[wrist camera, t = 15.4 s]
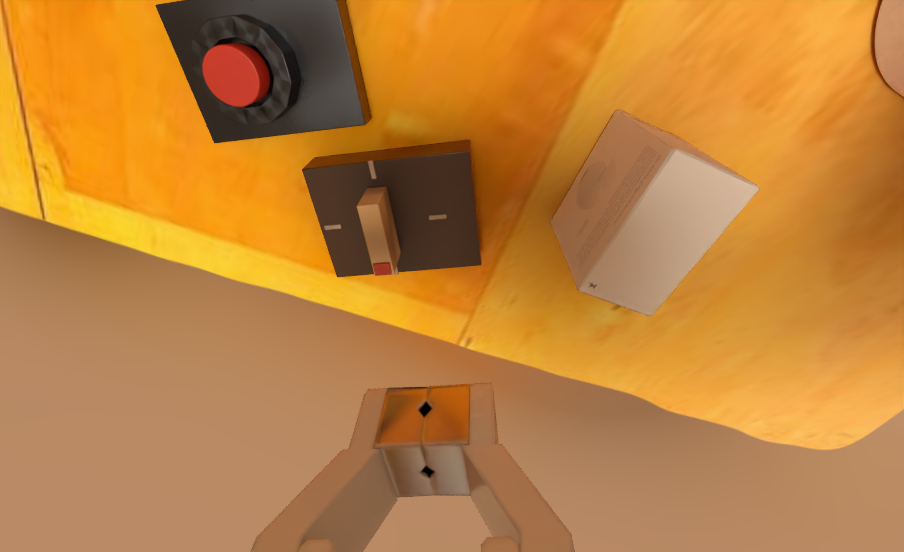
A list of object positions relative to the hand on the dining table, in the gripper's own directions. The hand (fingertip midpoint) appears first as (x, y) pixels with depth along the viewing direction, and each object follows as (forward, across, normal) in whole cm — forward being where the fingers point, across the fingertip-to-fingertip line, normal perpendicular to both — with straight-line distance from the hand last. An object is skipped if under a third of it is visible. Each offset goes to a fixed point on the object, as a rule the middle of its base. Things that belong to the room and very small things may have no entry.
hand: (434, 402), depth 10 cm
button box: (+27, +13, -6) cm, 31 cm away
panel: (+27, +6, +6) cm, 28 cm away
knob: (+24, +7, +6) cm, 26 cm away
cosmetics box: (+27, -12, +6) cm, 30 cm away
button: (+23, +14, -6) cm, 28 cm away
